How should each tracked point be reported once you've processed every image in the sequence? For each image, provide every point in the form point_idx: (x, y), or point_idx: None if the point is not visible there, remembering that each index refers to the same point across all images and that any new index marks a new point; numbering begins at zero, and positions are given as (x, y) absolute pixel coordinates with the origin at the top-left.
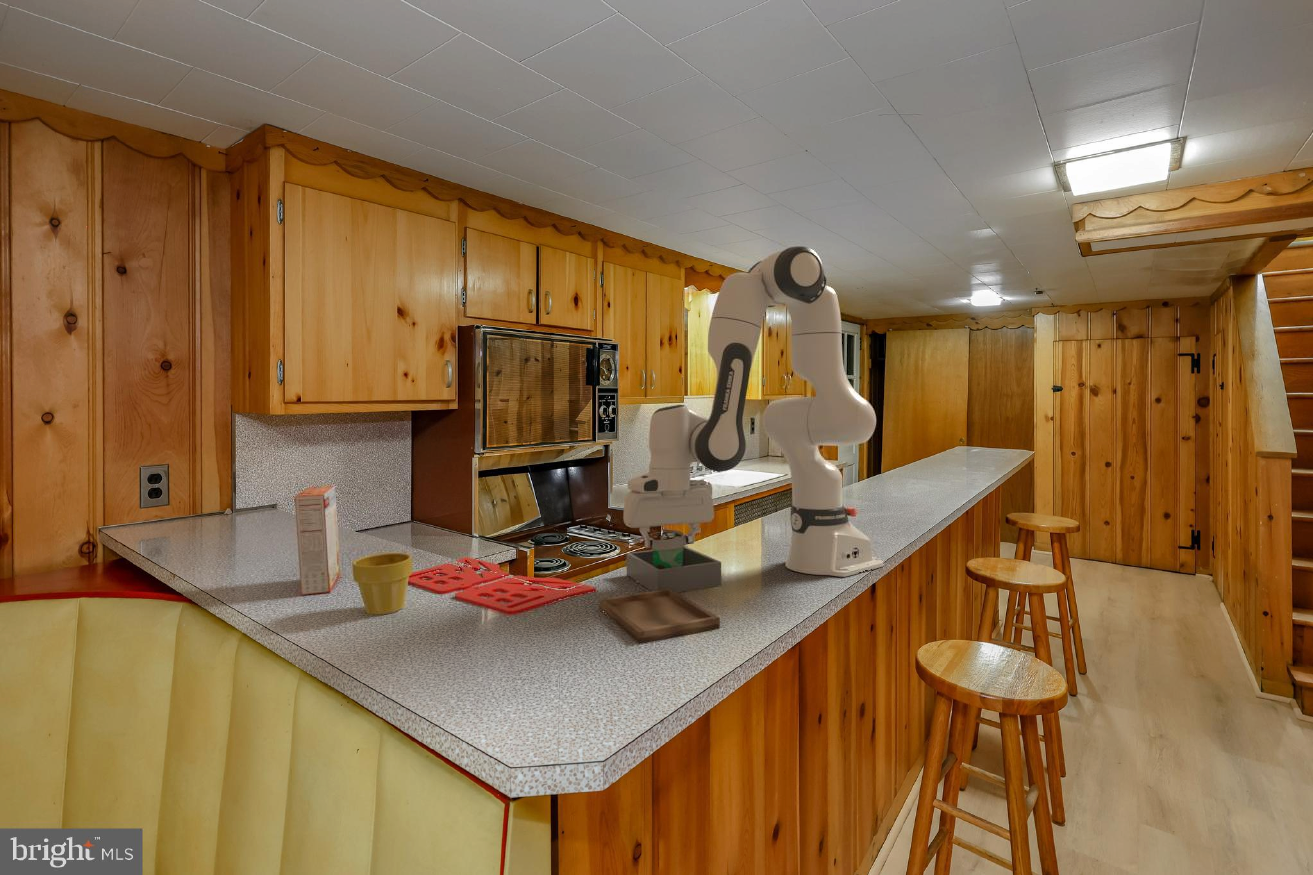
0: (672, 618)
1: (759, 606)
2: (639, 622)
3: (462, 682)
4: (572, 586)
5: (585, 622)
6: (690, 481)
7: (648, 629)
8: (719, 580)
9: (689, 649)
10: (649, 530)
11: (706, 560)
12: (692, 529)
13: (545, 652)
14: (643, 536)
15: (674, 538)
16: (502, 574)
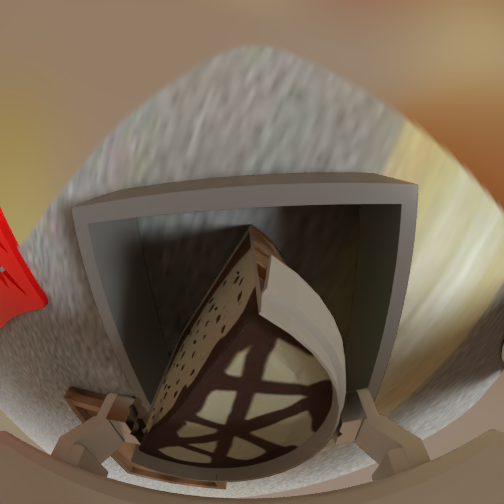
0: None
1: (321, 458)
2: (129, 453)
3: (26, 426)
4: (7, 270)
5: (66, 409)
6: None
7: (138, 475)
8: None
9: (177, 484)
10: (106, 475)
11: (362, 387)
12: (383, 450)
13: (54, 431)
14: (87, 427)
15: (260, 437)
16: None
